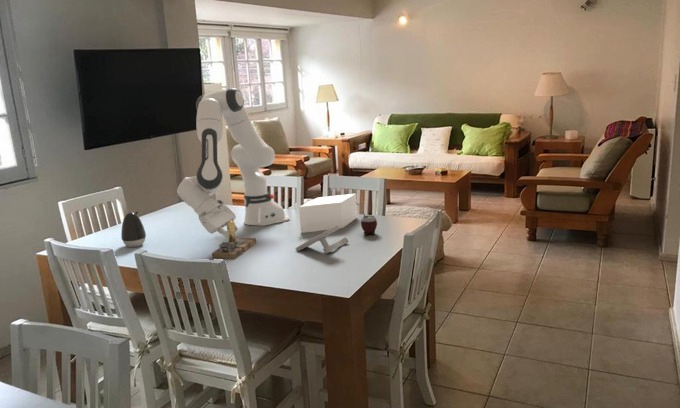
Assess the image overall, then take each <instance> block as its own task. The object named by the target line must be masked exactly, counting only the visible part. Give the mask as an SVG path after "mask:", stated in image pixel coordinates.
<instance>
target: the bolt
mask: <svg viewBox="0 0 680 408" xmlns="http://www.w3.org/2000/svg"><path fill="white" fill-rule="evenodd" d="M234 223H235V220H233V221H227V225H226V231H228V232H229V233H230V235H229V236H228V237H227V239H228V241H227V242H234V246H235V245H236V244H237V243H238V241H236V238H237V237H236V232H235V228H234ZM223 250H224V251H228V247H223Z"/></svg>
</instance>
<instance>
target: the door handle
mask: <svg viewBox="0 0 680 408" xmlns="http://www.w3.org/2000/svg"><path fill="white" fill-rule="evenodd" d="M339 229H340V228H339V227H338V225H337V226H334V227H332V228H330V229H328V230H323V232H320V234H318V235H316V236H314V237H313V238H310V239H309V240H307V241H306V242H303V243H302V244H301V245H298V246H297V247H295V250H296V251H297V252H300V251H301V250H304V249H306V248H308V247H310V246H312V245H313V244H315V243H317V242H320V243H321V246H322V247H323V248H322V250H323V252H324V254H329V253H331V252H332V251H334V250H335V249H338V248H340V247H342V246H344V245H347V244H348V243H349V238H348V237H343V238H342V239H340V240H338V241H335V243H333V244H329V243H328V241H327V239H326V238H327V236H329V235H331V234H333V233H335V232H337V231H338V230H339Z"/></svg>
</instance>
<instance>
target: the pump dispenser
mask: <svg viewBox="0 0 680 408" xmlns="http://www.w3.org/2000/svg"><path fill="white" fill-rule="evenodd" d="M138 214H139V212H138V211H135V212H132V211H131V212H127V213H126V214H125V215H124V218H123V220H122V224H121V225H122V226H121V240H122V243H123V244H124V245H125V246H126V247H129V248H137V247H140V246H142V245H143V244H144V243H145V241H146V238H147V233H146V230H145V227H144V224H143V222H142V220H141V219H140V217H139V215H138Z"/></svg>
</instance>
